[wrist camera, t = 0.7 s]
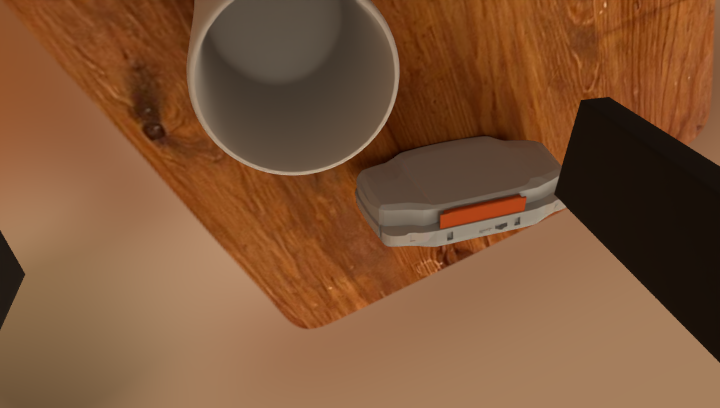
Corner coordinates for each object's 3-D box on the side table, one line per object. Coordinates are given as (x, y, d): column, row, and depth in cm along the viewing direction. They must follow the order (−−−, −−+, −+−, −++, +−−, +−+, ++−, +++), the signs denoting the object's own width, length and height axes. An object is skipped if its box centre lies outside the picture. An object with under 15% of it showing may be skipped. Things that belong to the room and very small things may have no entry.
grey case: (350, 191, 36) (378, 263, 30) (346, 158, 34) (375, 227, 28) (527, 155, 38) (588, 216, 32) (532, 122, 36) (598, 179, 30)
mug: (368, 44, 30) (429, 123, 21) (247, 106, 30) (259, 208, 22) (272, -185, 22) (306, -206, 14) (114, -97, 23) (54, -64, 14)
